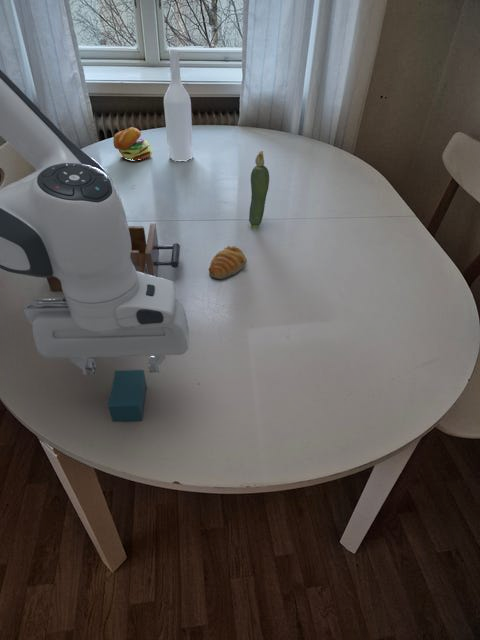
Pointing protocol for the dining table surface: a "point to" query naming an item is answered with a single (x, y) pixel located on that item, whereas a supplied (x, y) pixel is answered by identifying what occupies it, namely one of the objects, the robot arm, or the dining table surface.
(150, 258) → the drawer
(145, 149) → the cheeseburger
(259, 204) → the vegetable
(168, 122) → the bottle
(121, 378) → the teal block
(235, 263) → the pastry
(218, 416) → the dining table surface
